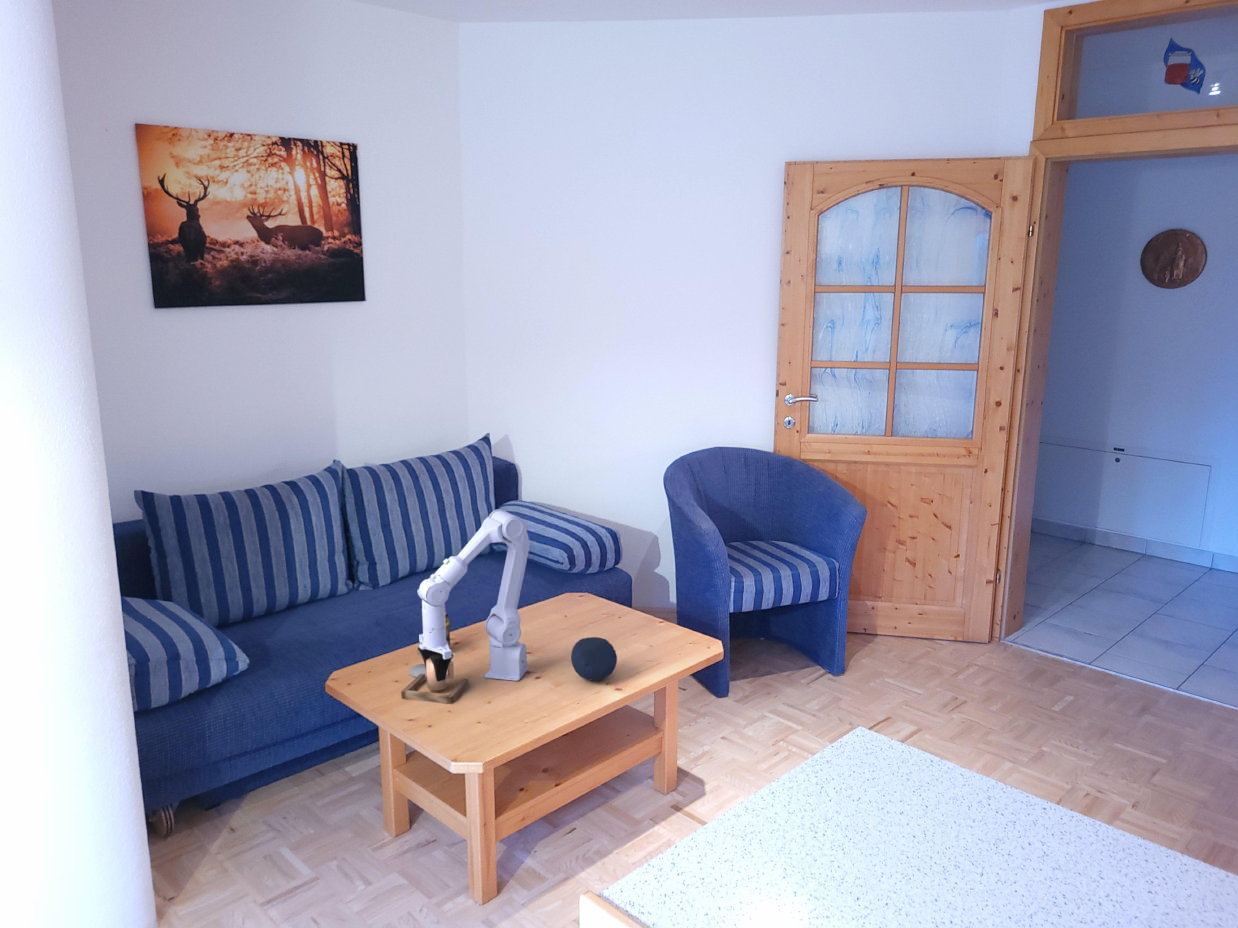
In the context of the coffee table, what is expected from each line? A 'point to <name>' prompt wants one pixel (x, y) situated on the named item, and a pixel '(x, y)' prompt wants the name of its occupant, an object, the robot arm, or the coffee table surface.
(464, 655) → the coffee table surface
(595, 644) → the decorative stone
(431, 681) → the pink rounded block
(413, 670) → the coaster
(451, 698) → the holder
